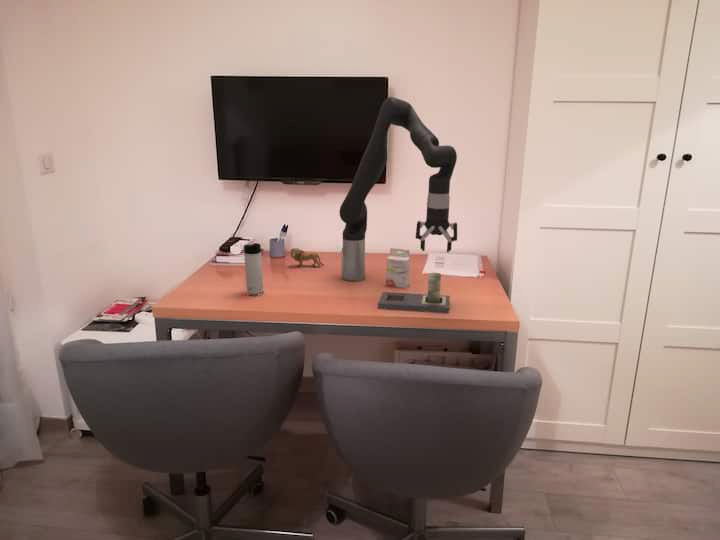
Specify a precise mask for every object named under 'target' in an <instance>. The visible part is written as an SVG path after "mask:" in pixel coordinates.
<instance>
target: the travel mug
mask: <svg viewBox="0 0 720 540" xmlns="http://www.w3.org/2000/svg"><path fill="white" fill-rule="evenodd" d="M243 250H244V251H243V254H244V256H243V257H244V264H245V265H244V267H245V269H244V270H245V282H246V283H245V284H246V293H248V294H250V295H258V294H261V293H263V292H264V281H263V280H264V279H263V278H264V277H263V262H262V251H261V243H252V244H245V245H243ZM248 294H247V295H248ZM263 294H264V293H263ZM250 295H249V296H250Z"/></svg>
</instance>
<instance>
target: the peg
mask: <svg viewBox="0 0 720 540" xmlns="http://www.w3.org/2000/svg"><path fill="white" fill-rule="evenodd" d="M441 281H442V274H441V273H440V272H429V273H428V279H427V295H428V301H427V303H440V295H441V283H442V282H441Z"/></svg>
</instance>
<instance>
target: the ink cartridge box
mask: <svg viewBox="0 0 720 540" xmlns="http://www.w3.org/2000/svg"><path fill="white" fill-rule="evenodd" d="M400 252H401V253H400ZM389 253H390V255H388V256H387V258H386V268H385V269H386V272H385V275H386V276H385V286H387V287H395V288H401V289H407V287H408V286H409V284H410V282H409V281H410V263H411V258H410V250H409V249H403V248H392V247H390V248H389Z"/></svg>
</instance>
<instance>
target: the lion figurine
mask: <svg viewBox="0 0 720 540" xmlns="http://www.w3.org/2000/svg"><path fill="white" fill-rule="evenodd" d="M290 257H291V259H294V261H295V262H298V265H297V266H298V268H299V269H302V268H303V262H308V261H311V260H312V261H313V263H312V264H311V266H312V267H314V266H315V265H316V264H317V266H316V268H318V269H319V268H321V266H324V263H322V261H321V258H320V256H319V254H318V253H317V252H314V251H312V252H305V251H304V250H302V249H299V248H297V247H292V248H291V249H290Z"/></svg>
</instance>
